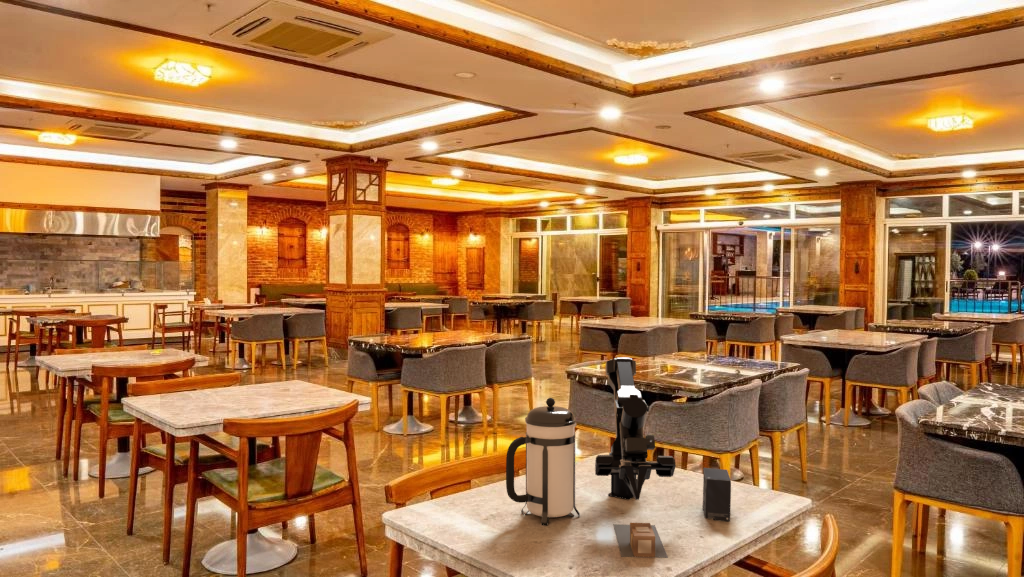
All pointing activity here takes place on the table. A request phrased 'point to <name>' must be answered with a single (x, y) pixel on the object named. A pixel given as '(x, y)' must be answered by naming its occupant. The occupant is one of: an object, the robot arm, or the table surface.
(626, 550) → the mat
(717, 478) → the small box
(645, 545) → the brown rectangular block
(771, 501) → the table surface
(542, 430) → the coffee press
